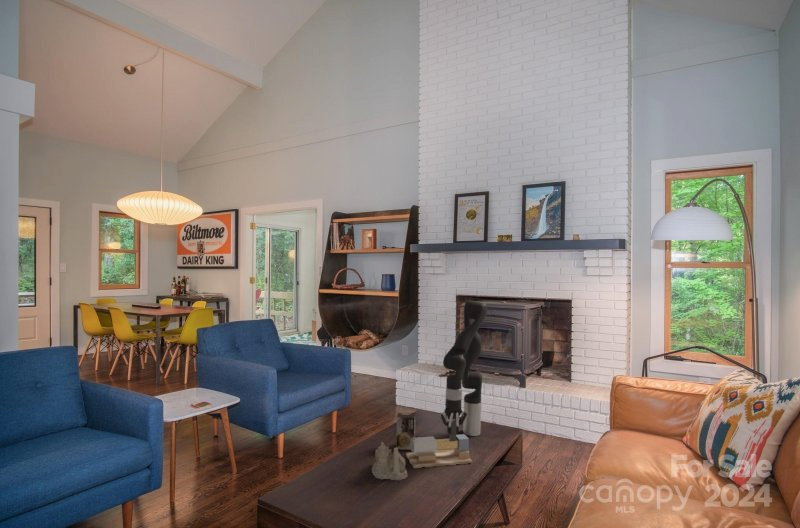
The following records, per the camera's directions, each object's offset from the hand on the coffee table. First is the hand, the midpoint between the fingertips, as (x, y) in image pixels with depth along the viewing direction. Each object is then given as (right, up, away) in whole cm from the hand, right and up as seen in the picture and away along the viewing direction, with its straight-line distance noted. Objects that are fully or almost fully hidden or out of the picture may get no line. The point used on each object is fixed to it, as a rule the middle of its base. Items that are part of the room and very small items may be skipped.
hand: (452, 433), depth 213 cm
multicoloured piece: (-3, -6, -1) cm, 7 cm away
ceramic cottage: (-29, -11, -15) cm, 35 cm away
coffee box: (-22, -11, +11) cm, 27 cm away
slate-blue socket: (+4, -10, +1) cm, 11 cm away
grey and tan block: (-14, -10, -3) cm, 18 cm away
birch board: (-7, -11, -1) cm, 13 cm away
